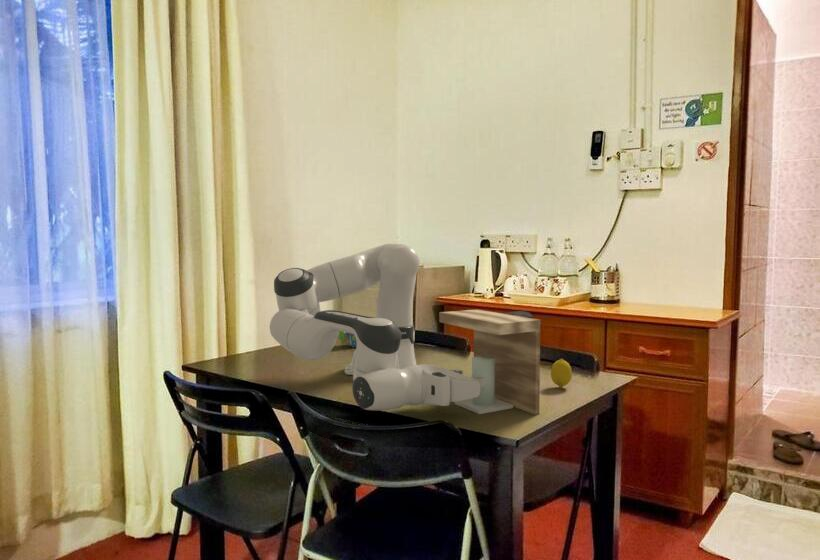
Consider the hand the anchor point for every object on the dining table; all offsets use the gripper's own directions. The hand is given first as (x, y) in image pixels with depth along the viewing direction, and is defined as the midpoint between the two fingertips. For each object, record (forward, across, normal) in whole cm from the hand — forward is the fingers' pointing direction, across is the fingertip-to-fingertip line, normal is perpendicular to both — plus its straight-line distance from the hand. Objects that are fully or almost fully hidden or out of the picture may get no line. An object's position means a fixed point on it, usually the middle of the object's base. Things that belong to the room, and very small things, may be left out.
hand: (472, 377), depth 146 cm
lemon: (+32, -4, -8) cm, 34 cm away
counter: (+5, 0, -8) cm, 9 cm away
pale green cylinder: (+4, 0, -7) cm, 8 cm away
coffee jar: (+35, -25, -8) cm, 44 cm away
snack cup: (+13, -91, -8) cm, 92 cm away
